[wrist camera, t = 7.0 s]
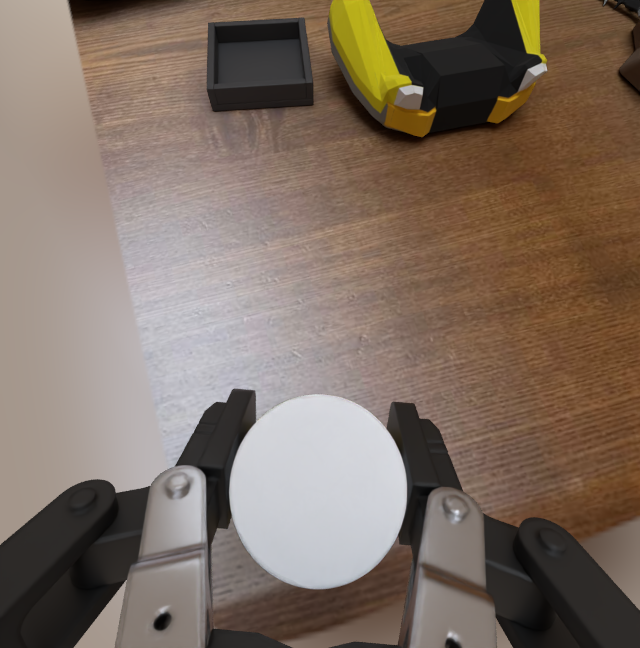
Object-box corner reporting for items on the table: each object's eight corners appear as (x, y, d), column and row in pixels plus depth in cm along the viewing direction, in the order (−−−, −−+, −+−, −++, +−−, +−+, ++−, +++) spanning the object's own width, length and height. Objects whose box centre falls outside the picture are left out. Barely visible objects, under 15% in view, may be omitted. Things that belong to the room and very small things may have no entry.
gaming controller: (321, 62, 28) (356, 156, 25) (322, -26, 23) (366, 75, 20) (497, 35, 30) (553, 119, 26) (534, -55, 25) (610, 35, 21)
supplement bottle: (271, 412, 17) (232, 365, 9) (372, 422, 17) (425, 383, 9) (254, 529, 15) (188, 601, 7) (368, 541, 15) (429, 627, 7)
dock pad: (213, 111, 26) (206, 88, 25) (213, 46, 29) (208, 22, 27) (313, 105, 27) (313, 82, 25) (305, 41, 29) (304, 17, 28)
